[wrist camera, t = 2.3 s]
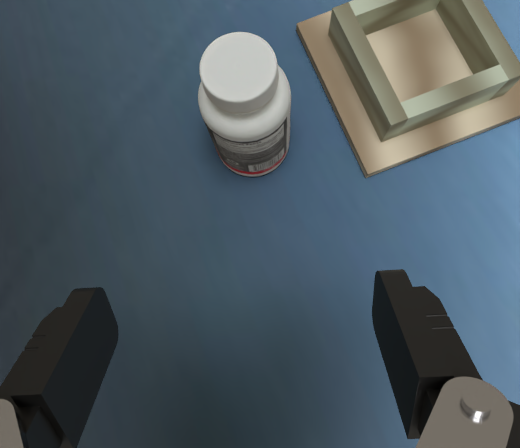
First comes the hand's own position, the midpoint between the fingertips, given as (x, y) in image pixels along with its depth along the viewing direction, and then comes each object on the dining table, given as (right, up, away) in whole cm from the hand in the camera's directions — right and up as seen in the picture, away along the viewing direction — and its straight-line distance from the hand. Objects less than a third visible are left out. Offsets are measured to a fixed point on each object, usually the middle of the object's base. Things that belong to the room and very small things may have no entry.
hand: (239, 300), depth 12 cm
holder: (+12, +14, +18) cm, 26 cm away
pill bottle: (0, +8, +18) cm, 20 cm away
